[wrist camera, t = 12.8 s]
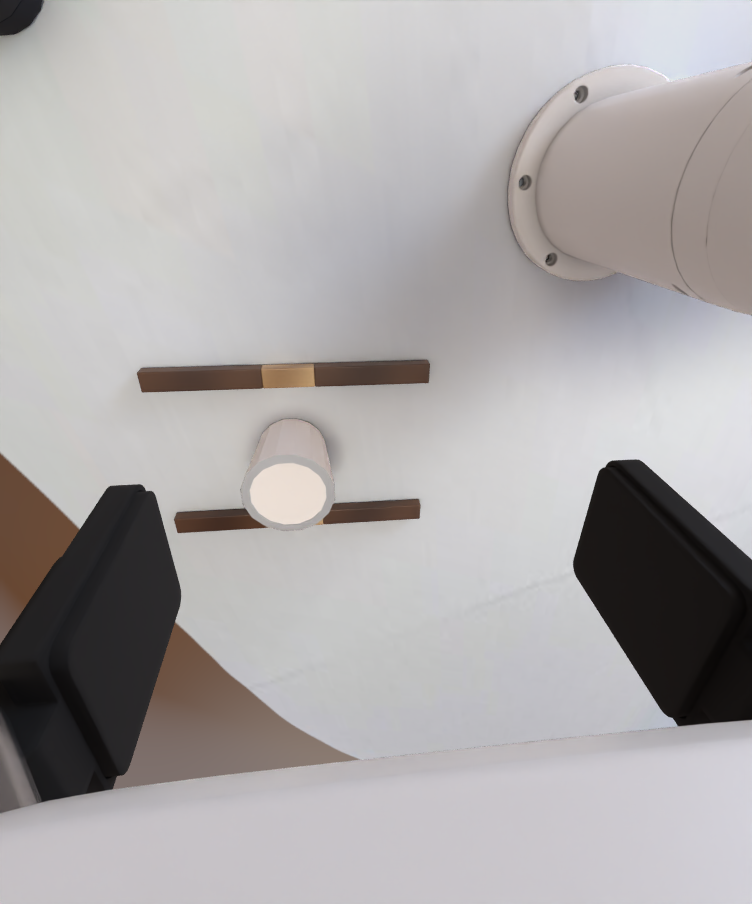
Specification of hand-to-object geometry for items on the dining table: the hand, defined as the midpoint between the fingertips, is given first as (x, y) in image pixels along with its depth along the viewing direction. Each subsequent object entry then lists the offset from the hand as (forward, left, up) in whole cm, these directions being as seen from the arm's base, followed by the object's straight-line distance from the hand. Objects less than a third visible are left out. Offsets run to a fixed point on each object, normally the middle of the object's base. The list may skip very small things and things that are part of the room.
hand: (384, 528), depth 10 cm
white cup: (+4, +14, -28) cm, 32 cm away
